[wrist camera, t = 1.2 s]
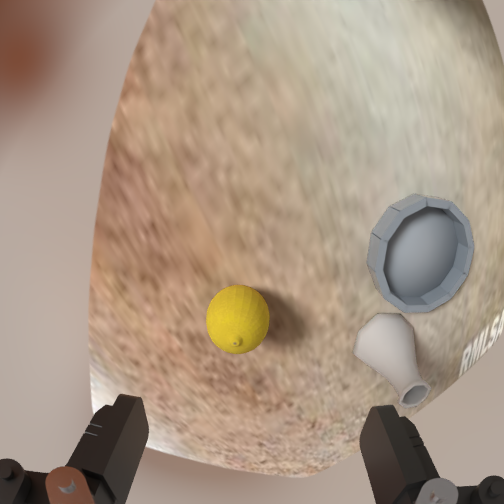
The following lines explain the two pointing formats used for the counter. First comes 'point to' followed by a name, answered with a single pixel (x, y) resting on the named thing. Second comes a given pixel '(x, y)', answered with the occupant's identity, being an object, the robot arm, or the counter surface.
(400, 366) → the flask
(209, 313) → the lemon
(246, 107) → the counter surface
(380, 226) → the dish
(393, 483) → the robot arm
